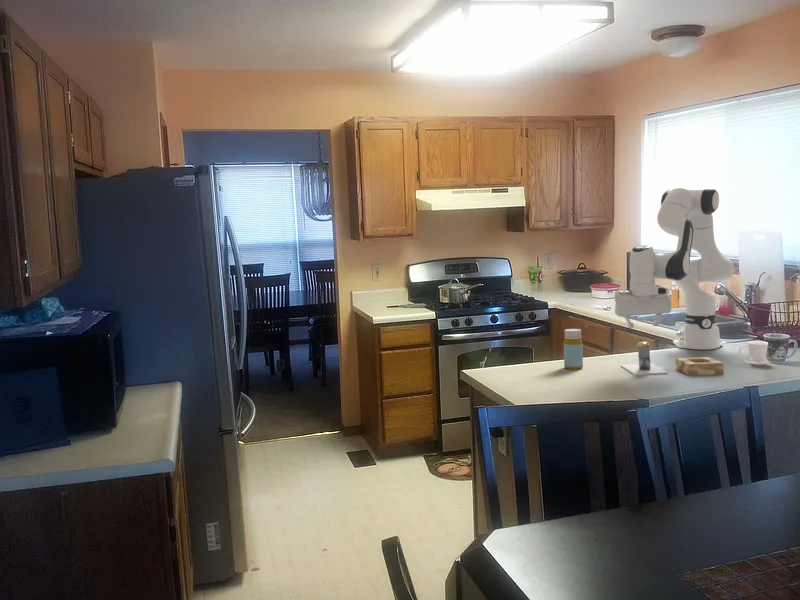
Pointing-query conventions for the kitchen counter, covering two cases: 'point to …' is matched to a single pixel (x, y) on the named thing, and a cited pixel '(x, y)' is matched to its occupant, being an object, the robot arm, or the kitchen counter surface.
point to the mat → (636, 371)
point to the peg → (644, 355)
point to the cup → (756, 351)
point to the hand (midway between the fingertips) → (643, 326)
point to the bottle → (573, 349)
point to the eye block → (699, 366)
